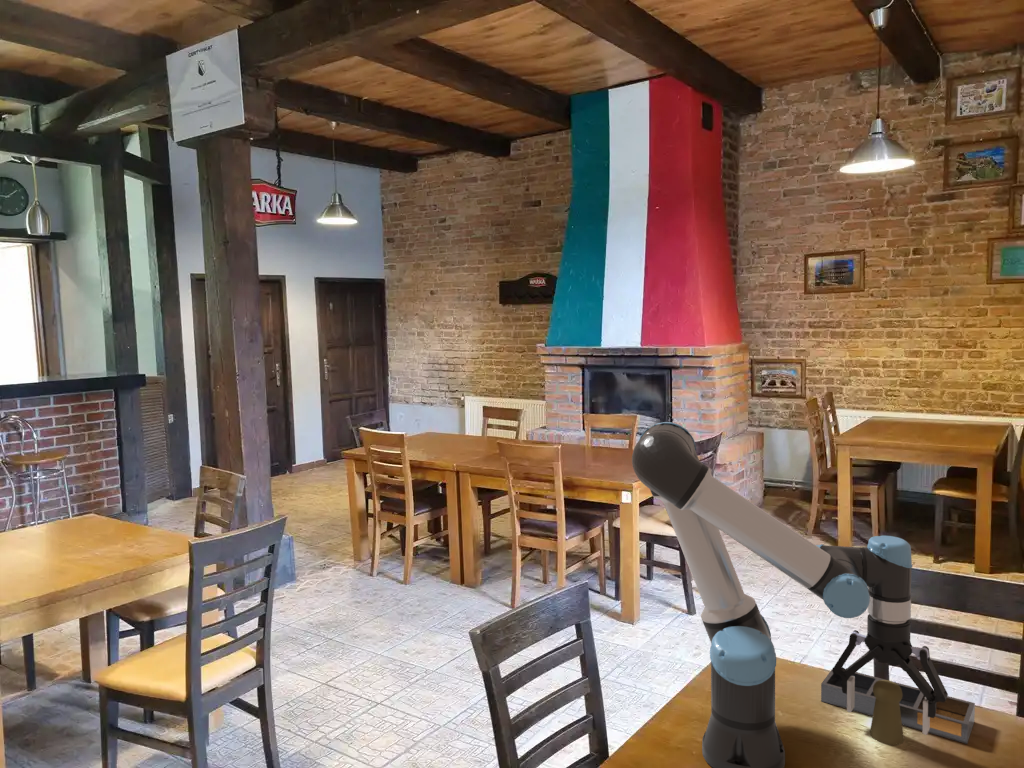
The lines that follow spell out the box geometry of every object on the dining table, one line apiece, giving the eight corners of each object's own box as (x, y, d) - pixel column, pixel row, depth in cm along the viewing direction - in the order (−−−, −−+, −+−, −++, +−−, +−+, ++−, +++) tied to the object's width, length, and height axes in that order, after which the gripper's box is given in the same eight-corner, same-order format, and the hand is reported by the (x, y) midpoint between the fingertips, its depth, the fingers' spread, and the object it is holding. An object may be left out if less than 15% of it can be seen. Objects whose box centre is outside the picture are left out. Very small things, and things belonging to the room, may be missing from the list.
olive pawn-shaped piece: (908, 746, 143) (909, 692, 142) (874, 743, 144) (875, 690, 143) (898, 729, 149) (899, 676, 148) (866, 726, 150) (867, 674, 149)
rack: (974, 721, 150) (974, 703, 150) (966, 744, 143) (967, 724, 143) (834, 683, 168) (834, 666, 167) (820, 701, 160) (821, 683, 160)
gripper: (966, 625, 139) (963, 731, 141) (827, 596, 155) (827, 693, 157) (959, 639, 133) (956, 750, 135) (816, 608, 149) (816, 708, 151)
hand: (887, 720), depth 146 cm, fingers open, 13 cm apart
